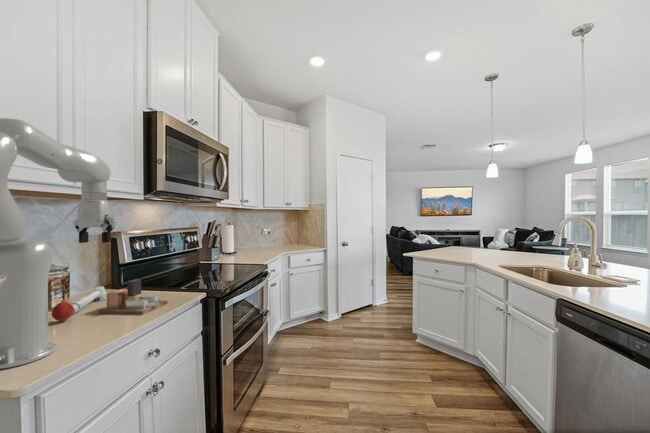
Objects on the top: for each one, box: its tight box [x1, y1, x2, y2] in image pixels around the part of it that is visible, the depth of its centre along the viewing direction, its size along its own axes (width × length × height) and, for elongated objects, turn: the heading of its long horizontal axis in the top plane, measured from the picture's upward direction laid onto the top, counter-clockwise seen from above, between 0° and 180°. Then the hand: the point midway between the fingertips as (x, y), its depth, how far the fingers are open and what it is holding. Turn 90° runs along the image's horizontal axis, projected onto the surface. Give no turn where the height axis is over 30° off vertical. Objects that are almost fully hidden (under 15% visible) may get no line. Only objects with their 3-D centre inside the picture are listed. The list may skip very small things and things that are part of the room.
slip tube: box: [122, 278, 142, 303], centre depth 114 cm, size 4×9×9 cm, turn 83°
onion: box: [51, 299, 74, 323], centre depth 99 cm, size 6×6×8 cm
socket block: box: [106, 287, 127, 308], centre depth 114 cm, size 8×5×6 cm, turn 173°
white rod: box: [69, 285, 108, 317], centre depth 118 cm, size 5×7×25 cm
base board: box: [98, 299, 168, 315], centre depth 114 cm, size 14×19×1 cm
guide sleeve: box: [126, 294, 159, 309], centre depth 113 cm, size 8×8×3 cm
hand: (95, 242), depth 105 cm, fingers open, 9 cm apart
